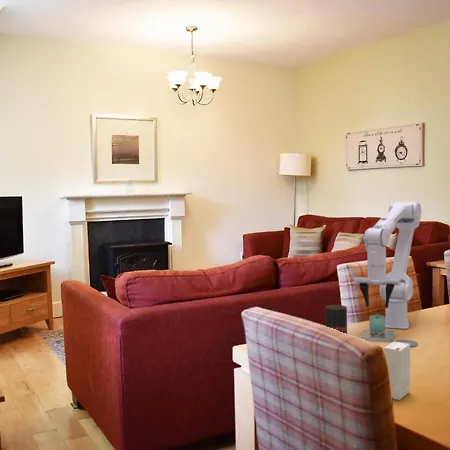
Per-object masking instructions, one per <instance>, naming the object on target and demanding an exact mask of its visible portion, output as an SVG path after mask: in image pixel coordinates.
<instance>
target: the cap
mask: <svg viewBox="0 0 450 450" xmlns="http://www.w3.org/2000/svg"><path fill="white" fill-rule="evenodd" d="M368 317H369V318H368V319H369V321H368V322H369V323H368V324H369V325H368V326H369V327H368V329H370V330H372V331H384V330H386V328H385V321H386V316H385V315H381V314H380V313H376V314H375V315H374V314H373V315H369V316H368Z"/></svg>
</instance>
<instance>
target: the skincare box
mask: <svg viewBox="0 0 450 450" xmlns="http://www.w3.org/2000/svg"><path fill="white" fill-rule="evenodd" d="M384 353H385V355H386V359H387V364H388V369H389V376H390V383H391V390H392V397H393V400H398V401H400V400H402V399H403V398H404V397H405V396H407V395H408V394H409V393H410V390H411V387H410V386H411V347H410V344H407V343H401V342H394V341H393V342H390V343H389V344H388V345H386V346H385V347H383V354H384Z"/></svg>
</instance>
